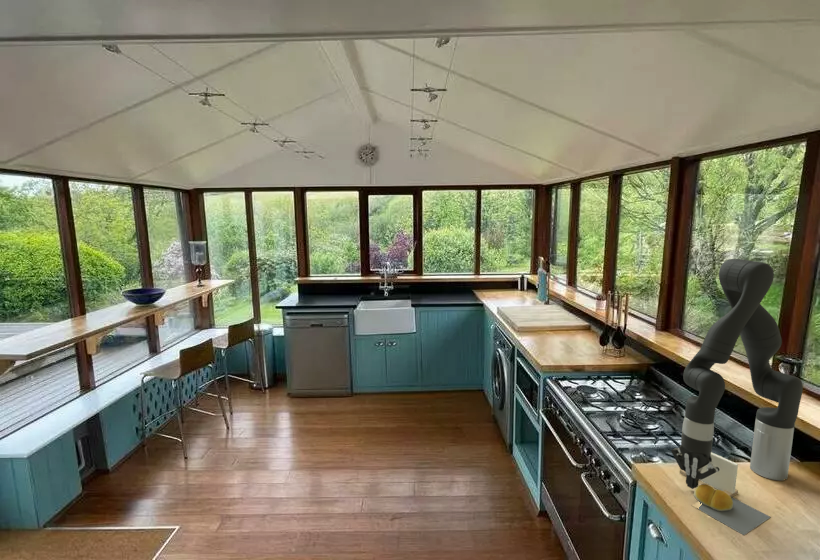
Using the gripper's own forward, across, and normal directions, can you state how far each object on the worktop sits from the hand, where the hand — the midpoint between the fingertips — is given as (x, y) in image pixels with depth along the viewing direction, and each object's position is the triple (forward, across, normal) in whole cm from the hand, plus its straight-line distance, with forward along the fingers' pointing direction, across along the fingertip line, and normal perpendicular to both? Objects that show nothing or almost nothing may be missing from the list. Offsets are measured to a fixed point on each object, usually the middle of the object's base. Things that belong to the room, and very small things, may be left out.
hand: (691, 486), depth 126 cm
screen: (+1, 0, -8) cm, 8 cm away
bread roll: (+1, -6, 0) cm, 6 cm away
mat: (+1, -10, 0) cm, 10 cm away
